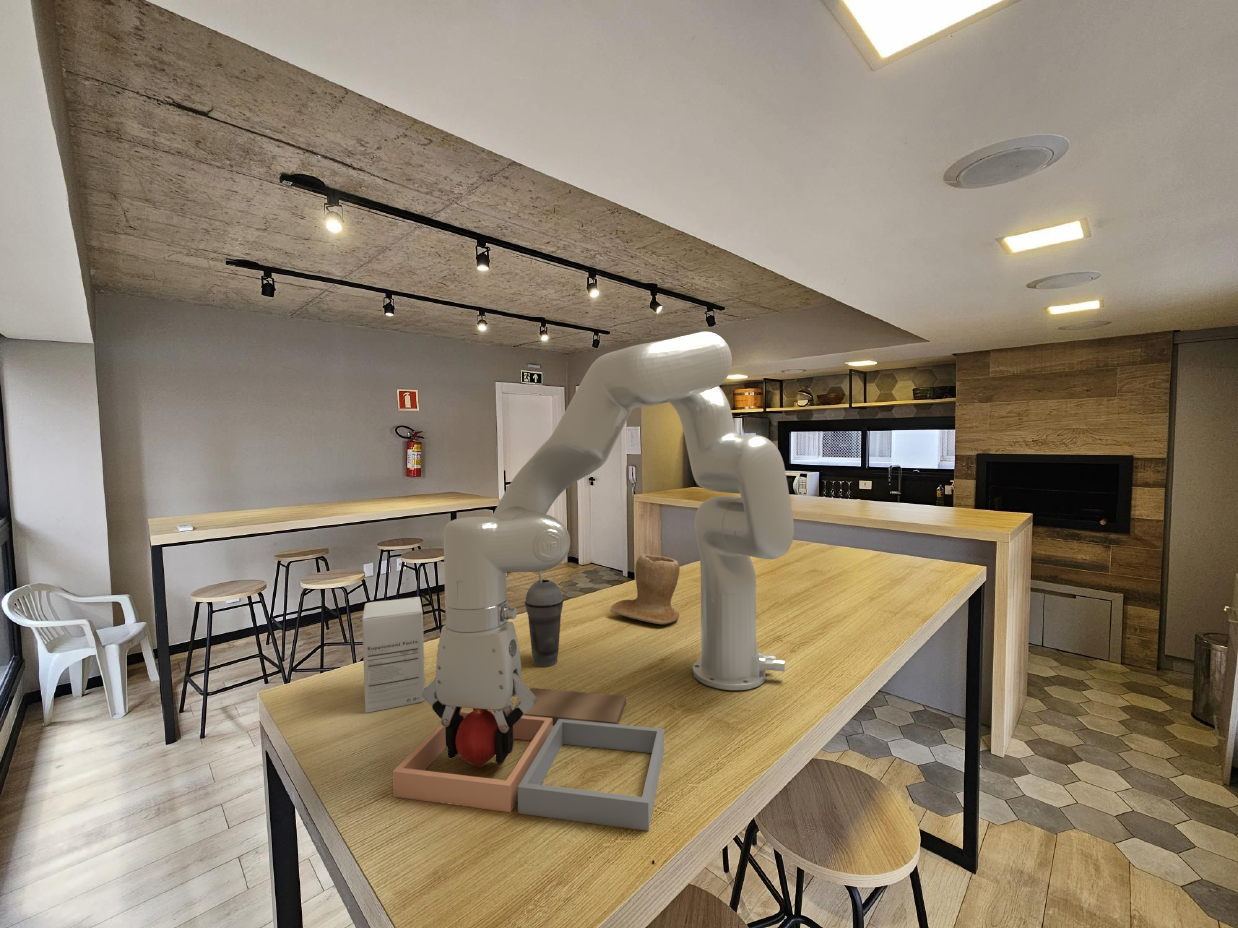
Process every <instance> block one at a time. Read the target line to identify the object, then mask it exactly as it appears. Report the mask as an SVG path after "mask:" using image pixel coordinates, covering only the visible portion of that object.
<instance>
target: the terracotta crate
mask: <svg viewBox="0 0 1238 928" xmlns="http://www.w3.org/2000/svg"><path fill="white" fill-rule="evenodd" d="M472 711H473V709H471V710H469V709H461V712H460V715H461V716H463V718H465V717H466V716H467V715H468V714H469V713H471V712H472ZM490 712H491V711H490ZM491 713H493V711H492V712H491ZM493 714H494V713H493ZM553 727H554V726H553V718H546V717H535V716H525V715H523V716H522V717H521V718H520V719H519V720H518V721H517V722H516V723H515V724H514V725H513V740H524V741H530V743H529V745H528V746H527V747H526V749H525V751H524V752H523V754H522V756H521V758H519V760H518V762H517V763H516V765H515V767H514V768H513V770H512V771H511V773H510V774H509V776H508V777H507V778H506V780H503V779H496V778H488V777H481V776H471V775H464V774H456V773H447V772H439V771H431V770H427V769H428V767H429V766H430V765H431V764H432V763H433V761H434V760H436V759H437V757H438V756H439V755H440V754H441V753H442V752H443V751H444V749H446V748H447V747H446V729H445V727H444V726H442V724H441V723H440V724H439V725H438V726H437V727H436V728H435V729H434V730H433V731H432V732H431V733H430V734H429V735H428V736H427V737H425V739H423V741H422V742H421V743H419V745H418V746H417V747H416V748H415V749H414V750H413V751H412V752H411V753H410V754H408V756H406V758H405V759H404V760H403V761H402V762H400V764H398V766H396V768H394V769H393V770H392V789H393V792H392V793H393V794H392V796H393V798H394V797H395V798H401V799H402V798H403V799H408V800H409V799H410V800H416V801H417V800H418V801H424V802H430V801H433V802H432V803H438V802H441V803H440V804H445V803H451V804H450V805H453V804H458V805H457V806H460V805H463V806H462V807H468V806H471V807H470V808H476V809H482V810H491V811H496V812H497V811H499V812H506V813H512V811H513V810H514V808H515V806H516V804H517V803H518V786H519V784H520V782H521V781H522V779H523V777H524V776H525V774H526V772H527V771H528V769H529V767H530V766H531V764H532V762H533V761H534V759H535V757H536V756H537V754H538V752H539V751H540V749H541V747H542V746H543V744H544V742H545V741H546V739H547V737H548V736H549V734H550V732H551V731H552V729H553ZM442 802H443V803H442ZM464 805H465V806H464Z"/></svg>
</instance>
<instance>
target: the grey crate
mask: <svg viewBox="0 0 1238 928" xmlns="http://www.w3.org/2000/svg"><path fill="white" fill-rule="evenodd" d="M563 745H571V746H578V747H579V746H581V747H589V748H599V749H600V748H601V749H608V750H609V749H610V750H617V751H627V752H628V751H629V752H637V753H648V754H651V757H650V760H649V765H648V769H647V774H646V778H645V782H644V787H643V790H642V791H643V792H642V795H641V796H636V795H627V794H622V793H621V794H619V793H611V792H604V791H603V792H602V791H595V790H588V789H578V788H573V787H572V788H570V787H562V786H555V785H546V784H542V783H543V781H544V780H545V778H546V776H547V774H548V773H549V771H550V769H551V767H552V765H553V763H554V761H555V760H556V757H557V756H558V753H559V752H560V750H561V749H562V746H563ZM664 752H665V729H664V728H663V727H662V728H660V727H650V726H649V727H648V726H640V725H639V726H638V725H637V726H636V725H629V724H609V723H598V722H588V721H577V720H567V719H558V721H557V722H556V724H555V725H554V726H553V729H552V731H551V732H550V734H549V736H548V737H547V739H546V741H545V742H544V744H543V746H542V747H541V749H540V751H539V752H538V754H537V756H536V757H535V759H534V761H533V762H532V764H531V766H530V767H529V769H528V771H527V772H526V774H525V776H524V777H523V779H522V781H521V782H520V784H519V786H518V801H517V811H518V814H521V815H528V816H537V817H545V818H551V819H558V820H565V821H572V822H573V821H574V822H580V823H581V822H582V823H589V824H595V825H601V826H602V825H603V826H611V827H617V828H626V829H632V830H641V831H645V832H646V831H647V832H649V831H650V825H651V820H652V816H653V810H654V805H655V799H656V795H657V790H658V784H659V780H660V774H661V768H662V763H663V758H664Z"/></svg>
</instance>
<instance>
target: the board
mask: <svg viewBox="0 0 1238 928" xmlns="http://www.w3.org/2000/svg"><path fill="white" fill-rule="evenodd" d="M529 689H530V691H531V692H532V693H533V694H534V695H535V696H536V698H537V702H536V703H535V704H534V706H533V707H532V708H531V709H530V710H529V711H528V712H527V713H525V714H524V715H525V716H535V717H546V718H553V725H554V726H555V724H556V722H557V721H558V719H567V720H577V721H588V722H598V723H609V724H619V723H620V721H621V718H622V716H623V713H624V711H625V709H626V708H625V707H626V705H627V695H622V694H621V695H620V694H609V693H607V694H606V693H599V692H597V693H596V692H585V691H571V690H560V689H549V688H547V689H546V688H536V687H530V688H529ZM519 704H521V702H520V700H519V701H518V703H516V705H515V707H513V708H514V709H515V708H516V707H517V706H518V705H519Z"/></svg>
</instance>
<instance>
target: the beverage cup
mask: <svg viewBox="0 0 1238 928" xmlns="http://www.w3.org/2000/svg"><path fill="white" fill-rule="evenodd" d="M537 573H538V579H539V580H537V581H535V582H534V583H532V584H531V586H529V588H528V589H527V591H526V595H525V600H524V605H525V609H526V613H527V619H528V627H529V636H530V647H531V656H532V661H533V665H534V666H537V667H541V668H547V667H551V666H554V665H556V664H557V663H558V656H559V649H560V648H559V647H560V635H561V633H560V632H561V631H560V630H561V619H562V617H561V616H562V611H563V606H564V603H565V602H564V596H563V592H562V590H561V588H560V586H558V584H557V583H556V582H554V581H553V580H550V579H542V571H541V572H537Z"/></svg>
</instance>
